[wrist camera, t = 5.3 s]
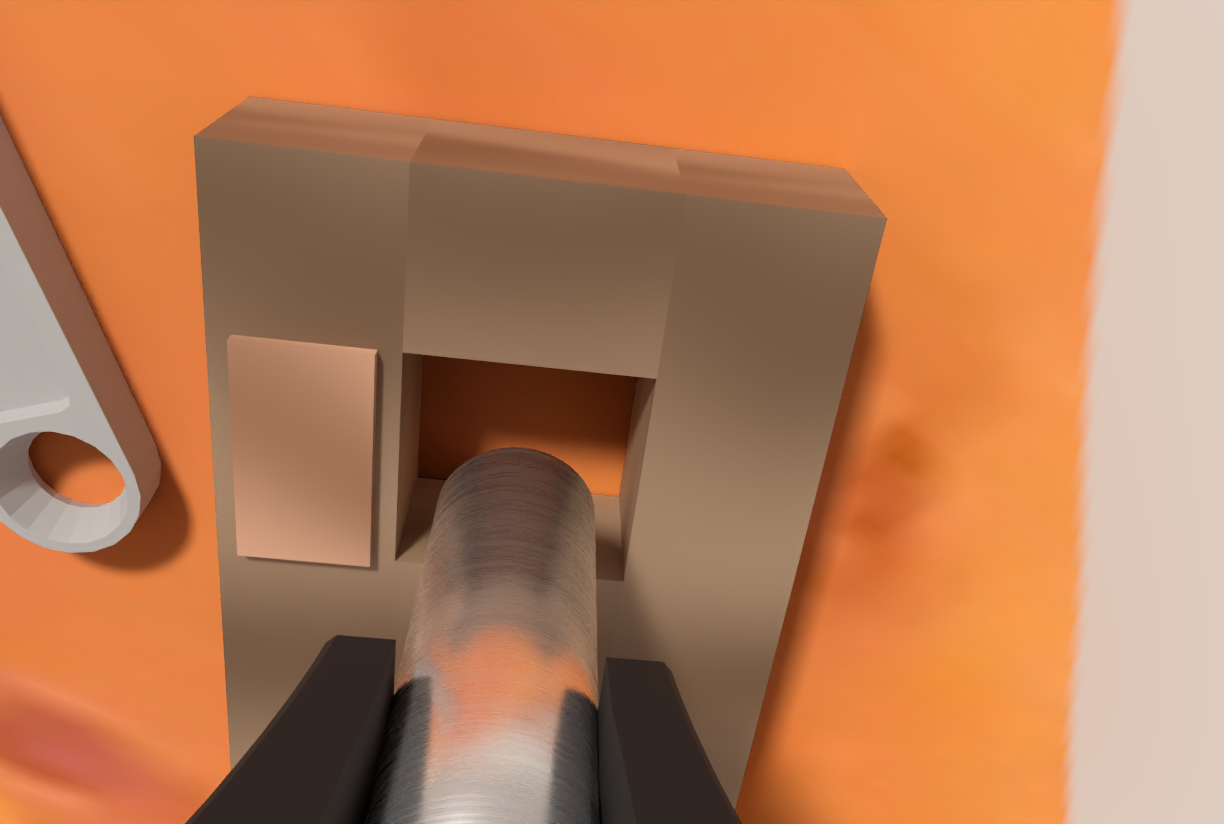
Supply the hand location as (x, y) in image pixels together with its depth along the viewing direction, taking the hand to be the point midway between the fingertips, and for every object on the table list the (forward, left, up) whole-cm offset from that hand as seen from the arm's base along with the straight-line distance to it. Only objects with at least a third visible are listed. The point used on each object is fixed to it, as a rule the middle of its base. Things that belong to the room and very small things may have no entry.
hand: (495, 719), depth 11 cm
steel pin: (0, 0, -4) cm, 4 cm away
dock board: (-5, 0, -8) cm, 9 cm away
